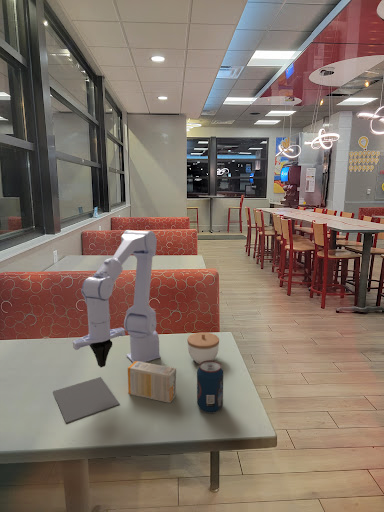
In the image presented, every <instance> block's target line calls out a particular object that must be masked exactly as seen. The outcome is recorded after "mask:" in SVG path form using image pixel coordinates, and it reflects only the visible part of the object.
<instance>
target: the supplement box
mask: <svg viewBox="0 0 384 512" xmlns="http://www.w3.org/2000/svg"><path fill="white" fill-rule="evenodd" d="M127 379H128V380H127V383H128V386H127V387H128V388H127V389H128V394H129V395H133V396H136V397H137V396H138V397H140V398H145V399H146V398H147V399H151V400H154V401H158V402H162V403H163V402H165V403H166V404H167V403H168V404H171V402H172V401H173V400H174V399H175V396H177V367H176V368H175V367H170V366H166V365H160V364H155V363H149V362H139V361H135V362H134V363H133V362H132V363H131V364H130V365H129V366H127Z"/></svg>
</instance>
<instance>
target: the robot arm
mask: <svg viewBox="0 0 384 512" xmlns="http://www.w3.org/2000/svg"><path fill="white" fill-rule="evenodd" d="M156 251H157V236H156V233H154V231H152V230H131V229H126V230H125V231H124V232H123V234H122V235H121V237H120V244H119V246H118V248H117V249H116V251H115V253H114V254H113V256H112V257H110V258H106V259H105V260H104V261H103V263H102V264H101V265H100V266H99V267H98V269H97V271H96V272H94V274H93V275H92V276H89V277H87V278H86V279H84V281H82V286H81V289H80V292H81V295H82V296H83V298H84V303H85V304H86V308H87V309H86V310H87V321H88V322H87V323H88V325H87V326H88V334H87V335H84V336H82V337H80V338H77V339H75V340H72V348H73V349H74V350H75V351H77V350H80V348H84V347H87V346H89V347H90V349H91V350H92V352H93V354H94V357H95V358H96V359H95V360H96V363H97V366H98V367H99V368H103V367H105V366H106V363H107V359H108V357H109V356H108V355H109V352H110V350H111V348H112V347H113V341H112V340H111V339H114V338H119V337H125V336H126V332H127V334H128V335H129V341H130V342H129V344H130V353H127V354H126V357H127V358H128V359H129V360H130V361H131V362H132V364H133V363H134V362H135V361H139V362H145V363H148V362H151V361H153V360H157V359H160V358H161V354H160V339H159V334H158V331H156V329H157V317H156V316H157V312H156V311H155V310H154V309H153V308H152V307H151V306H150V305H149V303H150V293H151V281H152V267H153V257H155V256H156V253H157V252H156ZM130 256H134V257H135V258H136V267H135V268H136V269H135V282H134V283H135V284H134V294H133V305H132V306H131V307H129V308H127V309H126V313H125V318H124V321H123V327H124V328H123V327H118V328H112V329H111V323H110V322H111V319H110V303H109V298H110V297H111V296H112V294H113V290H114V287H115V282H116V280H117V279H118V278H119V276H120V275H121V273H122V272H123V269H124V268H123V266H122V265H124V263H125V262H126V261H127V260H128V259H129V258H130Z"/></svg>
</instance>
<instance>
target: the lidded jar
mask: <svg viewBox="0 0 384 512" xmlns="http://www.w3.org/2000/svg"><path fill="white" fill-rule="evenodd" d="M186 340H187V350H188V353H189V356H190V358H191V359H192V360H193V361H194V362H195V363H196V364H198V365H200V363H201V362H203V361H207V360H213V361H214V360H215V358H217V355H218V352H219V348H220V347H219V345H220V338H219V337H218V335H216V334H213V333H211V332H201V331H200V332H194V333H192V334H190V335H189V336H188V337H187V339H186Z"/></svg>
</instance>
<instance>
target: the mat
mask: <svg viewBox="0 0 384 512" xmlns="http://www.w3.org/2000/svg"><path fill="white" fill-rule="evenodd" d="M52 393H53V396H54V397H55V401H56V402H57V406H58V407H59V410H60V412H61V415H62V416H63V419H64V422H65V424H69V423H72V422H74V421H78V420H80V419H83V418H86V417H90V416H92V415H95V414H98V413H100V412H103V411H106V410H109V409H111V408H114V407H117V406H121V403H120V402H119V401H118V399H117V397H116V396H115V395H114V394H113V392H112V390H111V389H110V388H109V386H108V385H107V384H106V383H105V381H104V379H103V377H101V376H100V377H96V378H93V379H89V380H86V381H83V382H80V383H76V384H73V385H69V386H65V387H62V388H59V389H56V390H53V391H52Z"/></svg>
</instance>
